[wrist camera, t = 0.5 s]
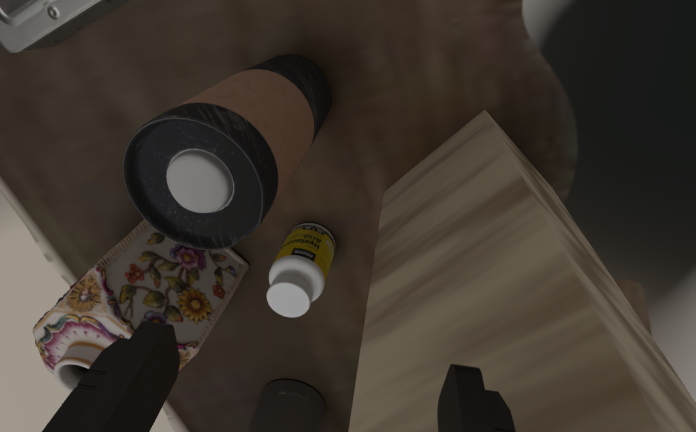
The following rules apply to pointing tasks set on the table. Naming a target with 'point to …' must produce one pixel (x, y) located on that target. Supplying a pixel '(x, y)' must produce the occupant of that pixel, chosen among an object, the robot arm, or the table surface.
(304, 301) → the supplement bottle
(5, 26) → the hard drive
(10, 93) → the table surface
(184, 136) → the travel mug
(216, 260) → the decorative jar
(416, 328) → the socket tower
